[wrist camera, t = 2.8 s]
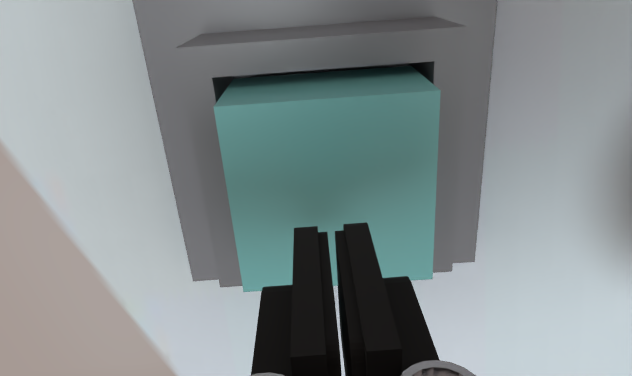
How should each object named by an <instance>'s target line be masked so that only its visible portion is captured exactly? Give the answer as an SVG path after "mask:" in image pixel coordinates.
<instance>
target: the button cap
mask: <svg viewBox="0 0 632 376" xmlns="http://www.w3.org/2000/svg"><path fill="white" fill-rule="evenodd" d="M440 92H441V90H439V89H438V88H437V87H436V86H435V85H433V84H432V83H431V82H430V81H429V80H427V79H426V78H425V77H424V76H423V75H421V74H420V73H419V72H418V71H417V70H415V69H414V68H413V67H412V66H401V67H387V68H373V69H360V70H346V71H332V72H319V73H305V74H291V75H278V76H264V77H251V78H237V79H233V80H232V82H231V83H230V84H229V86H228V87H227V89H226V90H225V91H224V93H223V94H222V96H221V97H220V98H219V100H218V101H217V103H216V104H215V105H214V113H215V120H216V126H217V132H218V138H219V144H220V150H221V156H222V162H223V169H224V175H225V181H226V187H227V193H228V199H229V205H230V211H231V218H232V224H233V230H234V236H235V242H236V248H237V254H238V260H239V267H240V273H241V279H242V285H243V291H244V292H250V291H262V288H263V287H267V286H281V285H292V279H293V245H294V228H298V227H312V226H318V232H327V234H328V243H329V253H330V262H331V272H332V281H333V286H338V280H337V263H336V246H335V231H342V230H343V225H344V224H352V223H365V222H367V223H368V226H369V230H370V234H371V237H372V241H373V245H374V248H375V252H376V256H377V259H378V263H379V266H380V270H381V274H382V277H383V278H389V277H402V276H408V277H409V279H410V280H425V279H432V276H433V253H434V230H435V207H436V184H437V161H438V138H439V115H440Z"/></svg>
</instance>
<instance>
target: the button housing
mask: <svg viewBox="0 0 632 376" xmlns="http://www.w3.org/2000/svg"><path fill="white" fill-rule="evenodd" d="M132 1H133V5H134V10H135V14H136V19H137V24H138V28H139V33H140V38H141V42H142V47H143V51H144V56H145V61H146V65H147V70H148V75H149V79H150V84H151V88H152V93H153V98H154V102H155V107H156V112H157V116H158V121H159V125H160V130H161V135H162V139H163V144H164V149H165V153H166V158H167V162H168V167H169V172H170V176H171V181H172V186H173V190H174V195H175V199H176V204H177V209H178V213H179V218H180V223H181V227H182V232H183V236H184V241H185V246H186V250H187V255H188V260H189V264H190V269H191V273H192V278H193V281H203V280H217V279H219V283H220V287H232V286H243V285H242V279H241V273H240V267H239V260H238V254H237V248H236V242H235V236H234V230H233V224H232V218H231V211H230V205H229V199H228V193H227V187H226V181H225V175H224V169H223V162H222V156H221V150H220V144H219V138H218V132H217V126H216V120H215V113H214V105H215V104H216V103H217V101H218V100H219V98H220V97H221V96H222V94H223V93H224V91H225V90H226V89H227V87H228V86H229V84H230V83H231V82H232V80H233V79H237V78H251V77H264V76H278V75H291V74H305V73H319V72H332V71H346V70H360V69H373V68H387V67H401V66H412V67H413V68H414V69H415V70H417V71H418V72H419V73H420V74H421V75H423V76H424V77H425V78H426V79H427V80H429V81H430V82H431V83H432V84H433V85H435V86H436V87H437V88H438V89H439V90H441V92H440V115H439V138H438V161H437V184H436V207H435V230H434V253H433V273H435V272H449V271H452V263H463V262H475V251H476V240H477V228H478V217H479V205H480V194H481V183H482V171H483V160H484V148H485V137H486V125H487V114H488V103H489V91H490V80H491V68H492V57H493V45H494V34H495V23H496V11H497V0H132Z"/></svg>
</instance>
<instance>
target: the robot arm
mask: <svg viewBox="0 0 632 376" xmlns="http://www.w3.org/2000/svg"><path fill="white" fill-rule="evenodd" d="M335 246H336V263H337V280H338V296H339V313H340V329H341V340H342V349H343V358H344V367H345V375H346V376H476V375H474V374H473V373H471V372H470V371H468V370H467V369H465V368H464V367H461V366H459V365H456V364H454V363H451V362H445V361H440V360H439V358H438V355H437V352H436V349H435V347H434V344H433V341H432V338H431V336H430V333H429V330H428V327H427V325H426V322H425V319H424V316H423V314H422V311H421V308H420V305H419V303H418V300H417V297H416V294H415V292H414V289H413V286H412V283H411V281H410V279H409V277H408V276H402V277H389V278H383V277H382V274H381V270H380V266H379V263H378V259H377V256H376V252H375V248H374V245H373V241H372V237H371V234H370V230H369V226H368V223H367V222H365V223H352V224H344V225H343V230H342V231H335ZM251 376H341V362H340V350H339V339H338V329H337V320H336V310H335V301H334V291H333V281H332V272H331V262H330V253H329V243H328V234H327V232H318V226H312V227H298V228H294V245H293V279H292V285H281V286H267V287H263V288H262V293H261V301H260V309H259V316H258V324H257V332H256V340H255V348H254V356H253V364H252V372H251Z"/></svg>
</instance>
